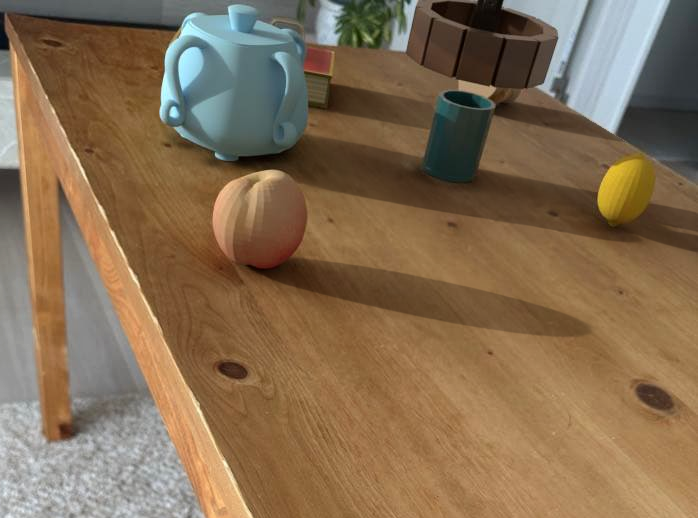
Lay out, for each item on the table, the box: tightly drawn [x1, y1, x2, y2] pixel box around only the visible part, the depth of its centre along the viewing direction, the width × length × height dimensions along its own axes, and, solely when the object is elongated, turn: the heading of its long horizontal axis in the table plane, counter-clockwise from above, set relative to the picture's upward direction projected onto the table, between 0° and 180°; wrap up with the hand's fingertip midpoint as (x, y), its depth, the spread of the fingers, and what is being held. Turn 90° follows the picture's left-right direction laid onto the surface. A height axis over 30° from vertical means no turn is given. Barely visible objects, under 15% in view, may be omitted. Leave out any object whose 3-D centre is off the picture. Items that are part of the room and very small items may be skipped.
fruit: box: [212, 169, 309, 270], centre depth 76 cm, size 8×8×8 cm
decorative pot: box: [159, 4, 309, 162], centre depth 95 cm, size 16×16×14 cm
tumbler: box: [421, 89, 496, 183], centre depth 100 cm, size 6×6×8 cm
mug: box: [457, 80, 522, 106], centre depth 123 cm, size 8×10×10 cm
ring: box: [405, 0, 559, 90], centre depth 94 cm, size 15×15×4 cm
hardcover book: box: [166, 24, 336, 109], centre depth 116 cm, size 12×21×4 cm, turn 86°
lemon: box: [597, 152, 656, 227], centre depth 95 cm, size 6×6×8 cm
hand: (479, 40), depth 100 cm, fingers closed on ring, 2 cm apart
